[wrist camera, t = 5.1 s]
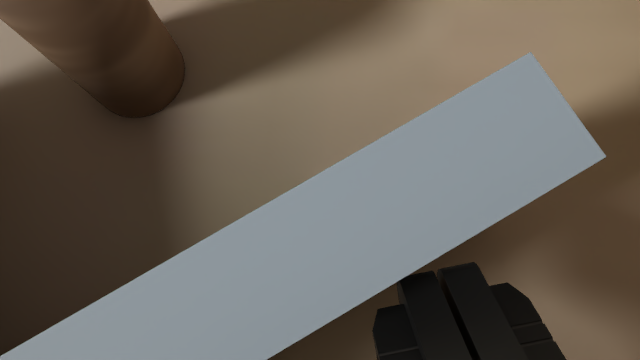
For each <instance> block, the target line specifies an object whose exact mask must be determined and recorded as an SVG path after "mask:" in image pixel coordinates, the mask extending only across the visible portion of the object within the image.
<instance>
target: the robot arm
mask: <svg viewBox="0 0 640 360" xmlns="http://www.w3.org/2000/svg"><path fill="white" fill-rule="evenodd" d="M437 279H438V280H437ZM397 289H398V297H399V304H400V305H395V306H390V307H385V308H380V309H378V310H377V314H376V318H375V322H374V326H373V330H372V331H373V337H374V343H375V349H376V355H377V360H566V359H565V357H564V355H563V354H562V352H561V350H560V349H559V347H558V345H557V344H556V342H554V341H553V339H552V336H551V334H550V332H549V331H548V329H547V327H546V326H545V324H543V323H542V319H541V318H540V316H539V314H538V313H537V311H536V309H535V308H534V306H533V304H532V303H531V301H530V300H529V298H527V297H526V296H525V295H523V294H522V293H521V292H519V291H518V290H517V289H515V288H514V287H513V286H511V285H510V284H509V283H502V284H497V285H492V286H489V285H488V284H487V282H486V280H485V278H484V276H483V274H482V272H481V271H480V269H479V267H478V265H477V264H476V263H475V262H472V263H467V264H462V265H457V266H452V267H447V268H442V269H438V272H437V277H436V275H435V273H434V272H433V271H428V272H423V273H418V274H414V275H409V276H406V277H404V278H403V279H401V280H399V281H398V282H397Z"/></svg>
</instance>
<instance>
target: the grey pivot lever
mask: <svg viewBox="0 0 640 360" xmlns="http://www.w3.org/2000/svg"><path fill="white" fill-rule="evenodd" d="M605 157H606V155H605V154H604V153H603V151H602V150H601V149H600V147H599V146H598V144H597V143H596V142H595V140H594V139H593V137H592V136H591V135H590V133H589V132H588V130H587V129H586V128H585V126H584V125H583V124H582V122H581V121H580V119H579V118H578V117H577V115H576V114H575V112H574V111H573V110H572V108H571V107H570V106H569V104H568V103H567V101H566V100H565V99H564V97H563V96H562V94H561V93H560V92H559V90H558V89H557V88H556V86H555V85H554V83H553V82H552V81H551V79H550V78H549V76H548V75H547V74H546V72H545V71H544V70H543V68H542V67H541V65H540V64H539V63H538V61H537V60H536V58H535V57H534V56H533V54H532V53H531V52H530V53H528V54H526V55H524V56H523V57H521V58H519V59H517V60H516V61H514V62H512V63H510V64H509V65H507V66H505V67H503V68H502V69H500V70H498V71H496V72H495V73H493V74H491V75H489V76H488V77H486V78H484V79H482V80H481V81H479V82H477V83H476V84H474V85H472V86H470V87H469V88H467V89H465V90H463V91H462V92H460V93H458V94H456V95H455V96H453V97H451V98H449V99H448V100H446V101H444V102H442V103H441V104H439V105H437V106H435V107H434V108H432V109H430V110H428V111H427V112H425V113H423V114H421V115H420V116H418V117H416V118H415V119H413V120H411V121H409V122H408V123H406V124H404V125H402V126H401V127H399V128H397V129H395V130H394V131H392V132H390V133H388V134H387V135H385V136H383V137H381V138H380V139H378V140H376V141H374V142H373V143H371V144H369V145H367V146H366V147H364V148H362V149H360V150H359V151H357V152H355V153H354V154H352V155H350V156H348V157H347V158H345V159H343V160H341V161H340V162H338V163H336V164H334V165H333V166H331V167H329V168H327V169H326V170H324V171H322V172H320V173H319V174H317V175H315V176H313V177H312V178H310V179H308V180H306V181H305V182H303V183H301V184H299V185H298V186H296V187H294V188H292V189H291V190H289V191H287V192H286V193H284V194H282V195H280V196H279V197H277V198H275V199H273V200H272V201H270V202H268V203H266V204H265V205H263V206H261V207H259V208H258V209H256V210H254V211H252V212H251V213H249V214H247V215H245V216H244V217H242V218H240V219H238V220H237V221H235V222H233V223H231V224H230V225H228V226H226V227H225V228H223V229H221V230H219V231H218V232H216V233H214V234H212V235H211V236H209V237H207V238H205V239H204V240H202V241H200V242H198V243H197V244H195V245H193V246H191V247H190V248H188V249H186V250H184V251H183V252H181V253H179V254H177V255H176V256H174V257H172V258H170V259H169V260H167V261H165V262H164V263H162V264H160V265H158V266H157V267H155V268H153V269H151V270H150V271H148V272H146V273H144V274H143V275H141V276H139V277H137V278H136V279H134V280H132V281H130V282H129V283H127V284H125V285H123V286H122V287H120V288H118V289H116V290H115V291H113V292H111V293H109V294H108V295H106V296H104V297H103V298H101V299H99V300H97V301H96V302H94V303H92V304H90V305H89V306H87V307H85V308H83V309H82V310H80V311H78V312H76V313H75V314H73V315H71V316H69V317H68V318H66V319H64V320H62V321H61V322H59V323H57V324H55V325H54V326H52V327H50V328H48V329H47V330H45V331H43V332H41V333H40V334H38V335H36V336H35V337H33V338H31V339H29V340H28V341H26V342H24V343H22V344H21V345H19V346H17V347H15V348H14V349H12V350H10V351H8V352H7V353H5V354H3V355H1V356H0V360H267V359H269V358H270V357H272V356H274V355H275V354H277V353H279V352H280V351H282V350H284V349H285V348H287V347H289V346H290V345H292V344H294V343H295V342H297V341H299V340H300V339H302V338H304V337H305V336H307V335H309V334H310V333H312V332H314V331H315V330H317V329H319V328H320V327H322V326H324V325H326V324H327V323H329V322H331V321H332V320H334V319H336V318H337V317H339V316H341V315H342V314H344V313H346V312H347V311H349V310H351V309H352V308H354V307H356V306H357V305H359V304H361V303H362V302H364V301H366V300H367V299H369V298H371V297H372V296H374V295H376V294H377V293H379V292H381V291H382V290H384V289H386V288H387V287H389V286H391V285H393V284H394V283H396V282H398V281H399V280H401V279H403V278H404V277H406V276H408V275H409V274H411V273H413V272H414V271H416V270H418V269H419V268H421V267H423V266H424V265H426V264H428V263H429V262H431V261H433V260H434V259H436V258H438V257H439V256H441V255H443V254H444V253H446V252H448V251H449V250H451V249H453V248H454V247H456V246H458V245H460V244H461V243H463V242H465V241H466V240H468V239H470V238H471V237H473V236H475V235H476V234H478V233H480V232H481V231H483V230H485V229H486V228H488V227H490V226H491V225H493V224H495V223H496V222H498V221H500V220H501V219H503V218H505V217H506V216H508V215H510V214H511V213H513V212H515V211H516V210H518V209H520V208H521V207H523V206H525V205H527V204H528V203H530V202H532V201H533V200H535V199H537V198H538V197H540V196H542V195H543V194H545V193H547V192H548V191H550V190H552V189H553V188H555V187H557V186H558V185H560V184H562V183H563V182H565V181H567V180H568V179H570V178H572V177H573V176H575V175H577V174H578V173H580V172H582V171H583V170H585V169H587V168H588V167H590V166H592V165H594V164H595V163H597V162H599V161H600V160H602V159H604V158H605Z"/></svg>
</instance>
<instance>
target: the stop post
mask: <svg viewBox="0 0 640 360" xmlns="http://www.w3.org/2000/svg"><path fill="white" fill-rule="evenodd" d="M0 19H1V20H2V21H4V22H5V23H6V24H7V25H8V26H10V27H11V28H12V29H13V30H14V31H16V32H17V33H18V34H19V35H20V36H22V37H23V38H24V39H25V40H26V41H28V42H29V43H30V44H31V45H32V46H33V47H35V48H36V49H37V50H38V51H39V52H41V53H42V54H43V55H44V56H45V57H47V58H48V59H49V60H50V61H51V62H53V63H54V64H55V65H56V66H57V67H58V68H60V69H61V70H62V71H63V72H64V73H66V74H67V75H68V76H69V77H70V78H72V79H73V80H74V81H75V82H76V83H78V84H79V85H80V86H81V87H82V88H84V89H85V90H86V91H87V92H88V93H89V94H91V95H92V96H93V97H94V98H95V99H97V100H98V101H99V102H100V103H101V104H103V105H104V106H105V107H106V108H108V109H109V110H110V111H112V112H114V113H116V114H118V115H121V116H125V117H144V116H148V115H151V114H154V113H156V112H158V111H160V110H162V109H163V108H164V107H166V106H167V105H168V104H169V103H170V102H171V101H172V100H173V99H174V98H175V97H176V95H177V94H178V92H179V90H180V88H181V86H182V83H183V80H184V73H185V67H184V60H183V57H182V54H181V52H180V50H179V49H178V47H177V45H176V44H175V42H174V41H173V39H172V37H171V36H170V34H169V33H168V31H167V30H166V28H165V26H164V25H163V23H162V22H161V20H160V19H159V17H158V15H157V14H156V12H155V11H154V9H153V8H152V6H151V4H150V3H149V1H148V0H0Z"/></svg>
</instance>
